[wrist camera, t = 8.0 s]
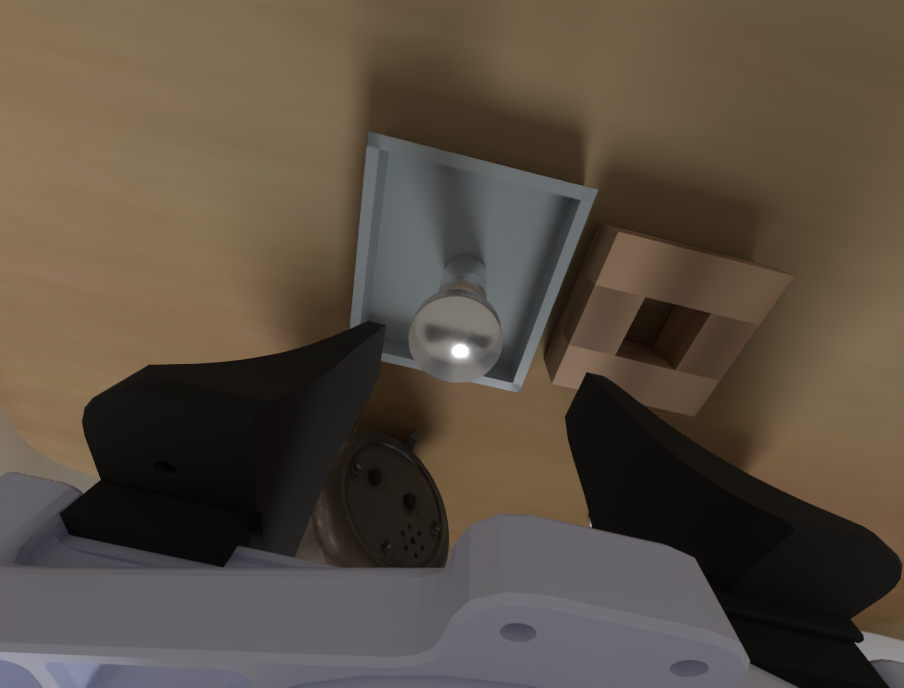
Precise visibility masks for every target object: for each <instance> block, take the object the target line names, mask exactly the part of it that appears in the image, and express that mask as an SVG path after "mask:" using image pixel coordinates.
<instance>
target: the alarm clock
mask: <svg viewBox="0 0 904 688" xmlns="http://www.w3.org/2000/svg"><path fill="white" fill-rule="evenodd" d="M417 439H418V433H417V432H416V431H413V432H412V433H411V434H410V436H409V438H408V440H407V441H406V443H400V442H399V441H397V440H396V439H394V438H392V437H390V436H388V435H385V434H383V433H380V432H376V431H369V430H358V431H354V429H353V427H352V429H351V431H350V432H349V434H348V436H347V438H346V439H345V441H344V443H343V445H342V447H341V448H340V450H339V452H338V454H337V456H336V459H335V461H334V463H333V466H332V468H331V470H330V472H329V475H328V477H327V479H326V482H325V484H324V486H323V489H322V491H321V493H320V496H319V498H318V501H317V503H316V505H315V508H314V510H313V513H312V515H311V518H310V520H309V523H308V525H307V528H306V530H305V533H304V535H303V538H302V540H301V543H300V545H299V548H298V550H297V553H296V555H295V558H299V559H303V560H308V561H313V562H317V563H322V564H327V565H332V566H336V567H341V568H445V566H446V561H447V557H448V549H449V529H448V521H447V515H446V511H445V507H444V504H443V500H442V498H441V495H440V493H439V490H438V488H437V486H436V484H435V482H434V480H433V478H432V476H431V475H430V473H429V472H428V470H427V469H426V467H425V466H424V465H423V463H422V462H421V461H420V460H419V458H418V457H417V456H416V455H415V454H414V453H413V451H412V450H413V448H414V445H415V443H416V441H417Z"/></svg>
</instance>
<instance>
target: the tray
mask: <svg viewBox="0 0 904 688" xmlns="http://www.w3.org/2000/svg"><path fill="white" fill-rule="evenodd" d="M597 192H598V190H597V189H593V188H589V187H585V186H581V185H577V184H573V183H569V182H565V181H562V180H558V179H554V178H550V177H546V176H542V175H538V174H534V173H530V172H526V171H522V170H518V169H515V168H511V167H507V166H503V165H499V164H495V163H491V162H487V161H483V160H479V159H475V158H472V157H468V156H464V155H460V154H456V153H452V152H448V151H444V150H440V149H436V148H432V147H429V146H425V145H421V144H417V143H413V142H409V141H405V140H401V139H397V138H393V137H389V136H385V135H382V134H378V133H374V132H370V131H368V137H367V148H366V158H365V169H364V180H363V191H362V201H361V212H360V223H359V234H358V244H357V255H356V266H355V276H354V287H353V298H352V309H351V319H350V329H351V328H353V327H355V326H357V325H360V324H362V323H364V322H367V321H371V322H376V323H380V324H384V325H386V329H385V336H384V343H383V350H382V357H381V361H383V362H387V363H392V364H396V365H400V366H405V367H409V368H413V369H418V370H422V369H421V368H420V367H419V365H418V364H417V363H416V362H415V360H414V358H413V356H412V354H411V352H410V349H409V343H408V336H409V330H410V326H411V324H412V322H413V319H414V317H415V315H416V313H417V311H418V309H419V307H420V306H421V305H422V304H423V302H424V301H425V300H427V299H428V298H429V297H431V296H432V295H434V294H436V293H437V292H438V289H439V286H440V283H441V280H442V278H443V275H444V272H445V269H446V266H447V264H448V262H449V261H450V260H451V259H452V258H453V257H455V256H457V255H459V254H471V255H474V256H476V257H477V258H479V259H480V260H481V261H482V263H483V265H484V267H485V271H486V295H487V301H488V302H489V303H490V304H491V305H492V306H493V308H494V309H495V311H496V313H497V314H498V317H499V320H500V324H501V332H502V350H501V354H500V356H499V359H498V360H497V362H496V364H495V365H494V366H493V367H492V369H490V370H489V371H488V372H487V373H486V374H484V375H483V376H481V377H479V378H477V379H474V380H471V381H469V382H474V383H478V384H482V385H487V386H491V387H495V388H500V389H504V390H508V391H512V392H517V393H519V392H520V390H521V387H522V384H523V382H524V379H525V377H526V374H527V372H528V369H529V366H530V364H531V361H532V359H533V356H534V354H535V351H536V348H537V346H538V343H539V341H540V338H541V336H542V333H543V331H544V328H545V325H546V323H547V320H548V318H549V315H550V313H551V310H552V307H553V305H554V302H555V300H556V297H557V295H558V292H559V289H560V287H561V284H562V282H563V279H564V277H565V274H566V271H567V269H568V266H569V264H570V261H571V259H572V256H573V253H574V251H575V248H576V246H577V243H578V241H579V238H580V235H581V233H582V230H583V228H584V225H585V223H586V220H587V218H588V215H589V212H590V210H591V207H592V205H593V202H594V200H595V197H596V194H597ZM422 371H424V370H422Z"/></svg>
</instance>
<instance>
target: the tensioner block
mask: <svg viewBox="0 0 904 688" xmlns="http://www.w3.org/2000/svg"><path fill="white" fill-rule="evenodd" d="M794 277H795V276H793V275H790V274H788V273H785V272H782V271H779V270H776V269H773V268H770V267H768V266H765V265H762V264H759V263H756V262H753V261H750V260H746V259H742V258H738V257H734V256H730V255H726V254H722V253H718V252H714V251H710V250H706V249H702V248H698V247H694V246H690V245H686V244H682V243H678V242H674V241H670V240H666V239H662V238H658V237H654V236H651V235H647V234H643V233H639V232H635V231H631V230H627V229H623V228H619V227H615V226H611V225H607V224H603V223H599V225H598V227H597V230H596V232H595V235H594V237H593V239H592V242H591V244H590V247H589V249H588V252H587V254H586V257H585V259H584V262H583V264H582V266H581V269H580V271H579V274H578V276H577V279H576V281H575V284H574V286H573V289H572V291H571V293H570V296H569V298H568V301H567V303H566V306H565V308H564V311H563V313H562V316H561V318H560V320H559V323H558V325H557V328H556V330H555V333H554V335H553V338H552V340H551V343H550V345H549V347H548V350H547V352H546V355H545V357H544V361H545V364H546V367H547V370H548V373H549V376H550V379H551V382H552V384H556V385H560V386H564V387H568V388H573V389H577V390H578V389H579V387H580V385H581V383H582V381H583V379H584V376H585V374H586V372H589V373H593V374H597V375H602V376H604V377H606V378H608V379H609V380H611V381H612V382H614V383H615V384H617V385H618V386H619V387H621V388H622V389H623V390H624V391H626V392H627V393H628V394H630V395H631V396H632V397H633V398H635V399H636V400H637V401H638V402H640V403H641V404H642V405H645V406H650V407H654V408H658V409H663V410H667V411H671V412H675V413H680V414H684V415H688V416H692V417H695V416H696V414H697V413H698V411H699V410H700V409H701V407H702V406H703V404H704V403H705V402H706V400H707V399H708V397H709V396H710V395H711V393H712V392H713V390H714V389H715V388H716V386H717V385H718V383H719V382H720V381H721V379H722V378H723V376H724V375H725V374H726V372H727V371H728V369H729V368H730V367H731V365H732V364H733V362H734V361H735V360H736V358H737V357H738V355H739V354H740V353H741V351H742V350H743V348H744V347H745V346H746V344H747V343H748V341H749V340H750V339H751V337H752V336H753V334H754V333H755V332H756V330H757V329H758V327H759V326H760V325H761V323H762V322H763V320H764V319H765V318H766V316H767V315H768V313H769V312H770V311H771V309H772V308H773V306H774V305H775V304H776V302H777V301H778V299H779V298H780V297H781V295H782V294H783V292H784V291H785V290H786V288H787V287H788V285H789V284H790V283H791V281H792V280H793V278H794ZM645 297H647V298H651V299H655V300H659V301H663V302H668V303H672V304H676V305H675V307H674V308H673V310H672V312H671V314H670V315H669V317H668V319H667V321H666V322H665V324H664V326H663V328H662V330H661V331H660V333H659V335H658V337H657V338H656V340H655V342H654V344H653V345H652V346H650V345H646V344H642V343H638V342H634V341H630V340H626V339H624V337H625V335H626V333H627V331H628V329H629V328H630V326H631V324H632V322H633V320H634V318H635V316H636V314H637V312H638V310H639V308H640V306H641V304H642V302H643V300H644V299H645Z"/></svg>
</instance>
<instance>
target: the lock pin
mask: <svg viewBox="0 0 904 688" xmlns="http://www.w3.org/2000/svg"><path fill="white" fill-rule="evenodd" d="M408 343H409V349H410V352H411V354H412V356H413V358H414V360H415V362H416V363H417V364H418V365H419V367H420V368H421V369H422V370H424V371H425V372H426V373H428V374H429V375H431V376H433V377H434V378H437V379H439V380H443V381H447V382H455V383H459V382H467V381H471V380H474V379H477V378H479V377H481V376H483V375H484V374H486V373H487V372H488V371H489V370H490V369H492V367H493V366H494V365H495V364H496V362H497V360H498V359H499V356H500V354H501V350H502V332H501V324H500V320H499V317H498V314H497V313H496V311H495V309H494V308H493V306H492V305H491V304H490V303H489V302H488V301H487V295H486V271H485V267H484V265H483V263H482V261H481V260H480V259H479V258H477V257H476V256H474V255H471V254H459V255H457V256H455V257H453V258H452V259H451V260H450V261H449V262H448V264H447V266H446V269H445V272H444V275H443V278H442V280H441V283H440V286H439V289H438V292H437V293H436V294H434V295H432V296H431V297H429V298H428V299H427V300H425V301H424V302H423V304H422V305H421V306H420V307H419V309H418V311H417V313H416V315H415V317H414V319H413V322H412V324H411V326H410V330H409V336H408Z"/></svg>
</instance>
